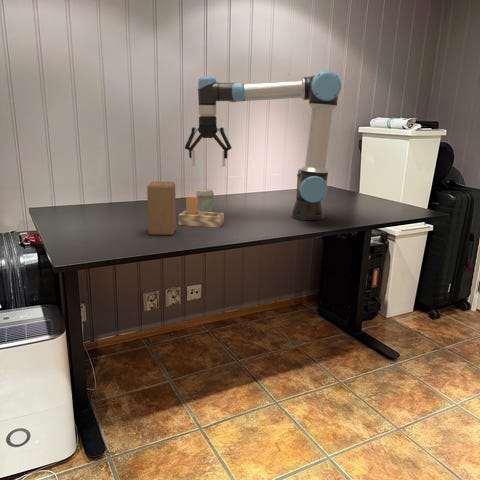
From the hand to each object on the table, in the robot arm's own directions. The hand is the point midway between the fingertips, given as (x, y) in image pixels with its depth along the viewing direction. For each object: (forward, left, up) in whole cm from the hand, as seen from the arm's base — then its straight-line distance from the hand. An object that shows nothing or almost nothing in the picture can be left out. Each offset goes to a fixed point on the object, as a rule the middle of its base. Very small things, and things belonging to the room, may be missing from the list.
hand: (208, 166), depth 205 cm
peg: (+5, +7, -25) cm, 26 cm away
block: (+13, +26, -25) cm, 38 cm away
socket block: (+1, +7, -25) cm, 26 cm away
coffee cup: (+4, -10, -25) cm, 27 cm away
